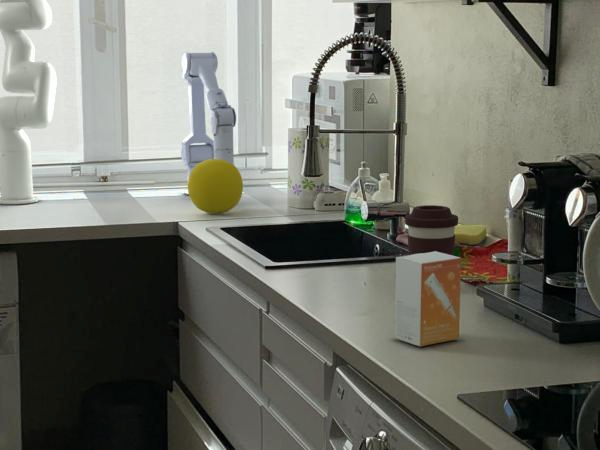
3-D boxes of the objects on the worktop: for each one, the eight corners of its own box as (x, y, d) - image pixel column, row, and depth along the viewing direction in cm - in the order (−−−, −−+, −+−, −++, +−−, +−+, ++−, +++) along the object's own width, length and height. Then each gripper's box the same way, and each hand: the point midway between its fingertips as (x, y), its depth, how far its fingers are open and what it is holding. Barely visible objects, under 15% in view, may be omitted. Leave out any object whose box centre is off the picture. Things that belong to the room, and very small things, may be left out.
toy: (233, 207, 298) (232, 155, 296) (250, 215, 284) (249, 160, 281) (182, 210, 293) (181, 157, 290) (196, 219, 279) (195, 163, 276)
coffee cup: (400, 280, 202) (400, 204, 200) (450, 279, 203) (451, 203, 201) (409, 292, 193) (410, 212, 190) (462, 291, 193) (463, 211, 191)
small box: (420, 347, 157) (421, 263, 155) (394, 338, 162) (394, 256, 160) (460, 339, 162) (462, 256, 159) (433, 330, 167) (434, 250, 165)
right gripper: (214, 146, 312) (215, 191, 315) (205, 151, 298) (206, 198, 301) (238, 146, 312) (238, 192, 314) (229, 151, 298) (230, 198, 300)
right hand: (224, 195), depth 307 cm, fingers closed on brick, 6 cm apart
